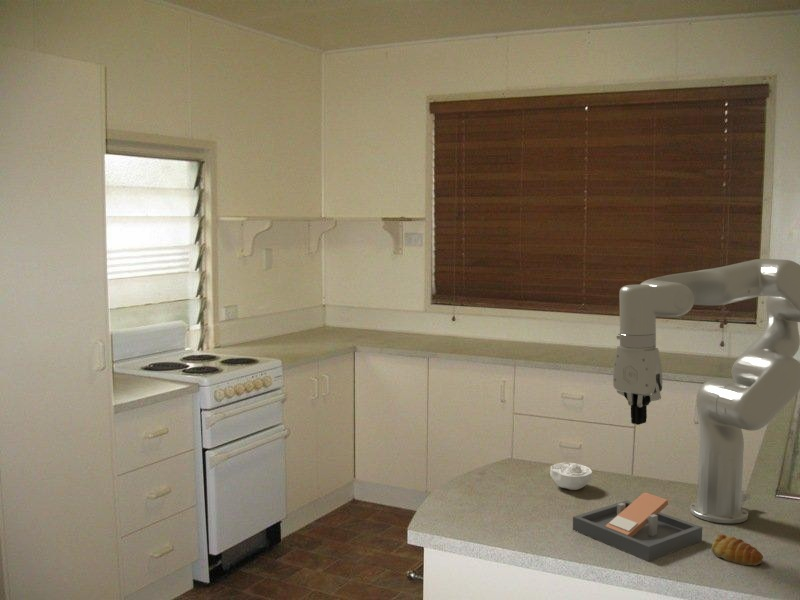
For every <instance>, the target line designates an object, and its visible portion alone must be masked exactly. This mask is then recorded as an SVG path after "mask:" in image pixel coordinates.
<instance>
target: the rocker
mask: <svg viewBox="0 0 800 600" xmlns="http://www.w3.org/2000/svg"><path fill="white" fill-rule="evenodd" d="M631 502H632V503H631V504H630V505H629V506H628V507H626V508H624V509H623V511H622V512H621V513H619V514H618V515H617V516H616V517H615V518H614V519H613V520H611V521H610V522H609V523H608V524H607V525H606V526H605V527H607V528H610V529H612V530H615V531H617V532H620V533H622V534H625V535H627V536H630V537H632V536H634V535H635V534H636V533H637V532H638V531H639V530H640V529H641V528H642V527H644V526H645V525H646V524H647V523H648V522H649V515H652V514H655V515H657V514H658V513H659V512H661V511H663V510H664V509H665V508H666V507H667V506H668V505H669V501H668V499H666V498H662V497H660V496H658V495H654V494H651V493H649V492H644V491H643V493H642V494H640V495H639V496H638V497H637V498H636V499H635V500H633V501H631Z"/></svg>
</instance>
